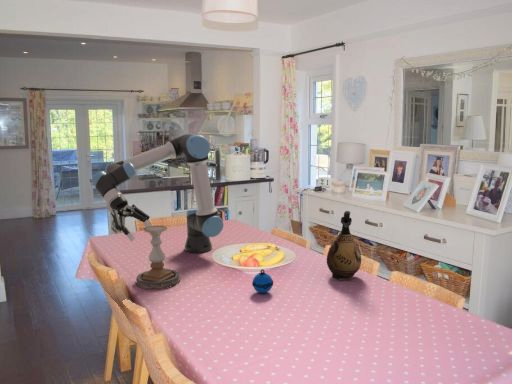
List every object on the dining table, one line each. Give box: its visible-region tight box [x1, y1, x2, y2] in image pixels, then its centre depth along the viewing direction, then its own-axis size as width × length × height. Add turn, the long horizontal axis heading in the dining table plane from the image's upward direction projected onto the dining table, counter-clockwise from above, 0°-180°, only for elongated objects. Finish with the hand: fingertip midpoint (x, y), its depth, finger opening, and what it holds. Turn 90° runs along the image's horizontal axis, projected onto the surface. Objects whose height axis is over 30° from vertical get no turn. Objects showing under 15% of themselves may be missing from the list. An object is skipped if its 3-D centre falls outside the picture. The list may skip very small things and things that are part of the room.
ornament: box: [251, 269, 274, 294], centre depth 195 cm, size 9×9×10 cm
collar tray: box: [136, 268, 181, 290], centre depth 210 cm, size 19×19×3 cm
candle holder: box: [141, 225, 175, 282], centre depth 208 cm, size 11×11×24 cm
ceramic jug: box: [326, 210, 362, 281], centre depth 211 cm, size 17×15×30 cm
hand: (143, 235), depth 209 cm, fingers open, 13 cm apart
